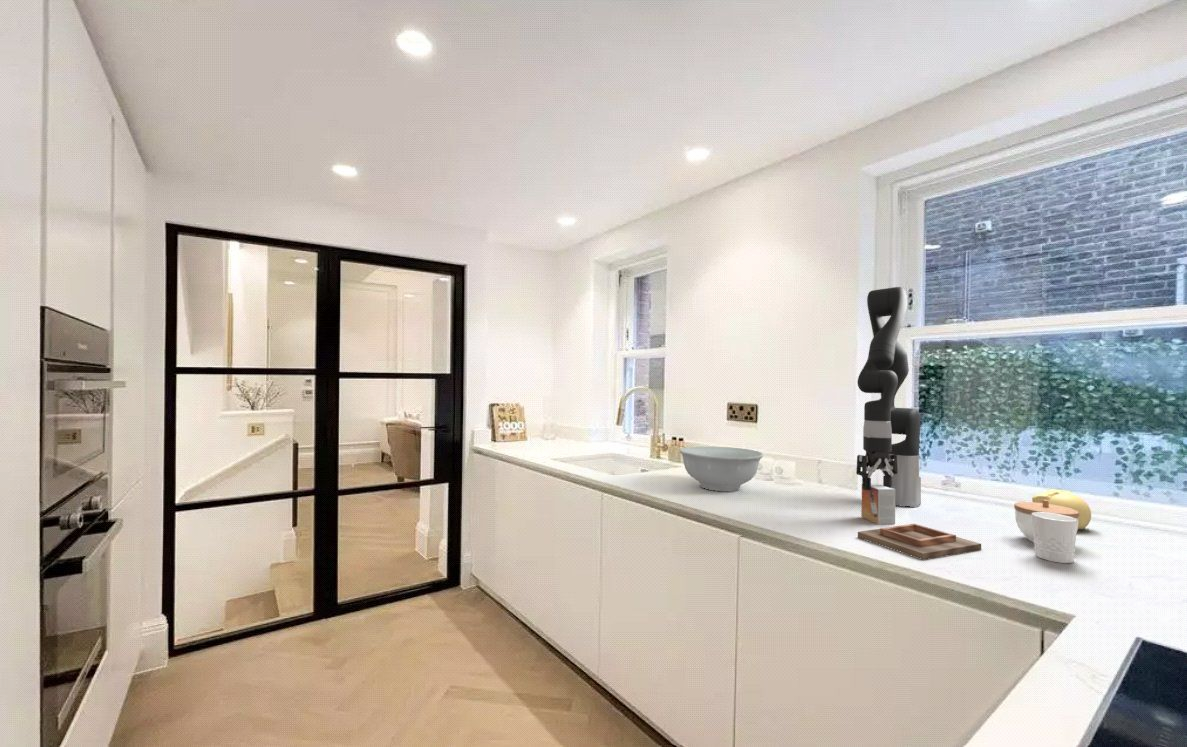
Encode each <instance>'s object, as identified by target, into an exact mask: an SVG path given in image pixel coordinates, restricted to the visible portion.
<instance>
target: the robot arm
mask: <svg viewBox="0 0 1187 747" xmlns="http://www.w3.org/2000/svg"><path fill="white" fill-rule="evenodd" d="M866 300H867V301H866V304H867V305H866V306H867V311H868V317H869V320H870V325H871V331H872V336H873V337H872V339H871V341H870V344H869V348H868V349H869V350H868V356H867V360H866V362H865V364H864V365H863V368H862V369H861V371H860V373H859V374H858V377H857V386H858V389H859V391H861V392H862V393H865V394H880V398H879V399H876V400H869V401H866V402H865V403H864V410H863V411H864V413H863V414H864V416H863V420H864V422H863V427H862V428H863V429H862V430H863V431H862V433H863V434H862V440H863V442H862V445H863V446H862V447H863V448H862V449H863V450H864V451H865V455H863V454H857V457H856V472H855V473H856V475H858V476H860V477H861V478H862V479H861V480H862V481H861V482H862V483H861V488H862V487H863V489H864V490H871V484H872V478H871V477H872V475H873V473H876V470H878V471H879V470H880V471H881V473H882V474H883V475H882V478H883V479H882V482H883V483H882V484H883V486H886V487H889V488H893V489H895V506H898V505H901V506H900V507H905V506H910V507H909V508H914V507H913V506H918V507H919V506H920V505H919V504H921V505H922V490H921V489H922V482H921V481H922V480H921V477H920V445H921V443H920V437H921V436H920V435H921V414H920V412H919V410H918V409H917V408H914V407H913V408H911V407H910V408H909V407H896V406H895V398H896V394H897V393H898V391H899V389H900V388H901V386H902V385H903V383H904V382H905V380H906V378H907V376H908V374H909V371H910V370H909V360H908V353H907V351H906V349H905V348H904V346H903V345H902V344H901V342H900V341H898V337H899V333H900V330H901V328H902V324H903V322H904V319H905V316H906V312H907V308H908V296H907V292H906V290H905V289H904V288H903V286H902V287H901V286H894V287H893V286H892V287H886V288H881V289H880V288H879V289H873V290H870V291H869V292H868V294H867V298H866ZM883 317H889V319H888V320H887V322H886V323H885V321H884V319H883ZM892 435H904V436H905V438H904V440H902V441H899V442H897V443H893V442H892V441H893V440H892V438H893V436H892Z"/></svg>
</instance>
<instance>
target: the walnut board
mask: <svg viewBox="0 0 1187 747" xmlns="http://www.w3.org/2000/svg"><path fill="white" fill-rule="evenodd" d="M858 537H859V538H858ZM857 538H858V539H861V538H862V539H861V540H864V539H865V541H867V540H868V541H867V542H870V541H871V542H870V543H874V544H876V543H877V544H876V545H879V544H880V545H879V546H881V545H883V546H882V547H884V546H886V547H885V548H887V547H889V548H888V549H890V548H892V549H891V550H893V549H895V550H894V551H896V550H898V551H897V552H899V551H901V552H900V553H902V552H903V553H902V554H905V553H906V554H905V555H908V554H909V555H908V556H911V555H912V556H911V557H913V556H915V557H914V558H916V557H918V558H917V559H919V558H921V559H920V560H922V559H926V560H929V559H928V558H932V559H936V557H937V558H941V556H943V557H947V556H946V555H949V556H954V555H959V554H958V553H960V554H965V553H964V552H966V553H970V551H971V552H975V551H976V550H977V551H981V550H982V543H979V542H976V541H972V540H969V539H967V538H962V537H959V536H957V535H956V534H953V533H949V532H946V531H942V530H939V529H934V528H931V527H928V526H925V525H920V524H917V523H909V524H902V525H894V526H888V527H880V528H876V529H870V530H867V529H866V530H861V531H860V530H859V531H857ZM953 554H954V555H953Z"/></svg>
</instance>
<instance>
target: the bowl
mask: <svg viewBox="0 0 1187 747" xmlns="http://www.w3.org/2000/svg"><path fill="white" fill-rule="evenodd" d="M678 452H679V453H680V454H681V455H682V459H683V465H684V469H685V471H686V473H687V474H688V475H689V476H690V477H691V478H692V479H694V480H695V481H697V482H698V483H699V486H700V488H702V489H704V488H705V489H704V490H707V489H709V490H708V491H713V490H715V491H714V492H736V491H735V490H737V491H740V489H741V486H742V485H743V484H746V483H748V482H750V481H751V480H752V479H753V478H755V476H756V474H757V471H758V469H759V464H760V460H761V459H762V458H763V456H764V454H763V453H762V452H761V451H759V450H754V449H748V448H742V447H741V448H740V447H728V446H687V447H682V448H679V451H678Z"/></svg>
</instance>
